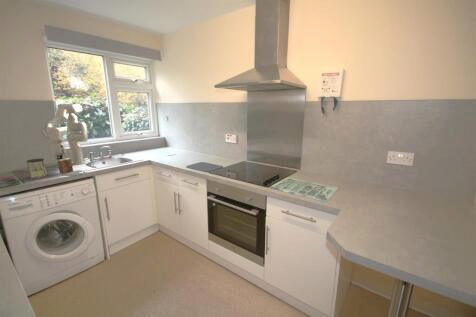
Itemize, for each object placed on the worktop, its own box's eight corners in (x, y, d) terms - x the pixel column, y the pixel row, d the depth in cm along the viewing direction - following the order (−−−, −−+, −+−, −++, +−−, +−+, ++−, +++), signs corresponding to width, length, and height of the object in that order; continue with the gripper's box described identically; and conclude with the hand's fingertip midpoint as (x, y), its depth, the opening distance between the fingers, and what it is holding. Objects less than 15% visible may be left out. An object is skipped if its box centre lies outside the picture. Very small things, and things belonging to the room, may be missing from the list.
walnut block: (69, 171, 195) (66, 158, 193) (73, 171, 194) (70, 158, 191) (59, 173, 188) (57, 160, 185) (64, 173, 186) (61, 160, 184)
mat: (77, 170, 196) (77, 170, 196) (89, 171, 193) (89, 171, 192) (61, 174, 183) (61, 174, 183) (74, 175, 179) (74, 175, 179)
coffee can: (28, 177, 178) (24, 160, 175) (43, 174, 187) (39, 158, 184) (34, 178, 174) (30, 161, 171) (49, 175, 183) (46, 159, 180)
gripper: (67, 141, 188) (71, 162, 192) (54, 141, 192) (58, 161, 196) (58, 142, 181) (62, 164, 185) (45, 142, 185) (49, 163, 189)
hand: (60, 162), depth 190 cm, fingers closed
